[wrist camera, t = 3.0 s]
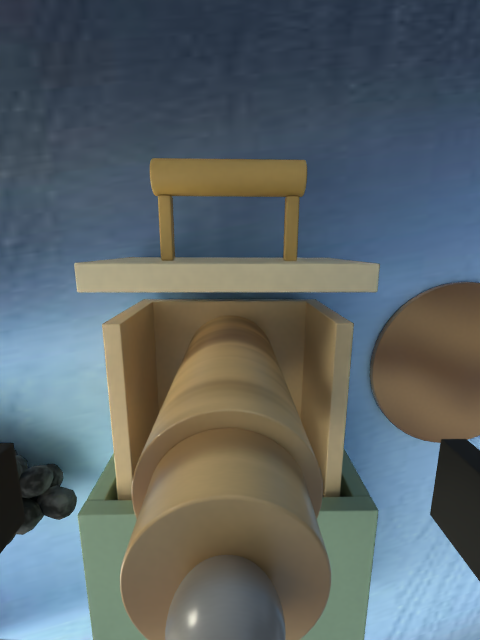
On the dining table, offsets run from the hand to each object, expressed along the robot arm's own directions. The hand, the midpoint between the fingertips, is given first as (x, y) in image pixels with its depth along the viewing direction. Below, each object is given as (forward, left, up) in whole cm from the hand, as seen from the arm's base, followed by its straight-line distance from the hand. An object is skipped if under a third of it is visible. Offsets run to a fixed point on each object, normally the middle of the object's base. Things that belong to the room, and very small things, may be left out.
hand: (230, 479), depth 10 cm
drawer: (-1, 0, -12) cm, 12 cm away
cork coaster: (+1, +16, -13) cm, 21 cm away
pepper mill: (0, 0, -11) cm, 11 cm away
